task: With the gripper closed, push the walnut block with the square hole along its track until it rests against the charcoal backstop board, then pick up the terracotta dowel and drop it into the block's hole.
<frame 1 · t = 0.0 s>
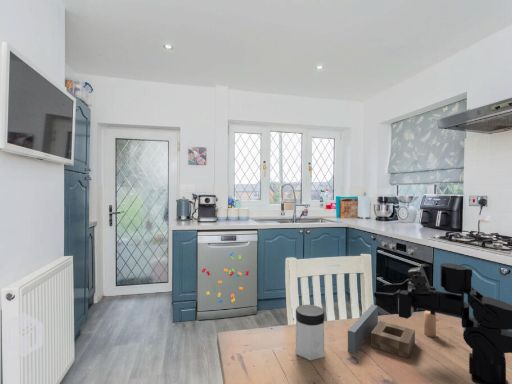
hand: (378, 289, 84), 17 cm above the table, tool horizontal, fingers open, 9 cm apart
backstop: (364, 335, 89), on the table
dowel: (430, 334, 90), on the table
jar: (309, 352, 80), on the table
block: (393, 337, 84), point 2 cm above the table, slide at 0.0 cm
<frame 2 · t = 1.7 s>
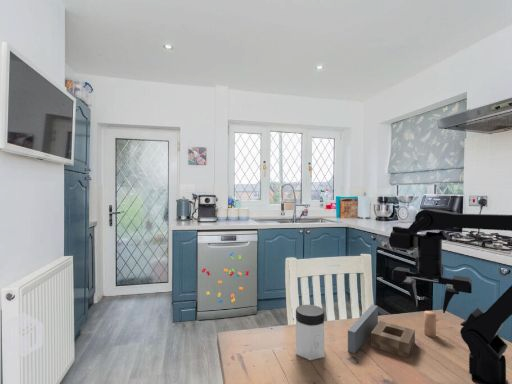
hand: (429, 309, 78), 13 cm above the table, tool pointing down, fingers open, 6 cm apart
nothing on the table moved.
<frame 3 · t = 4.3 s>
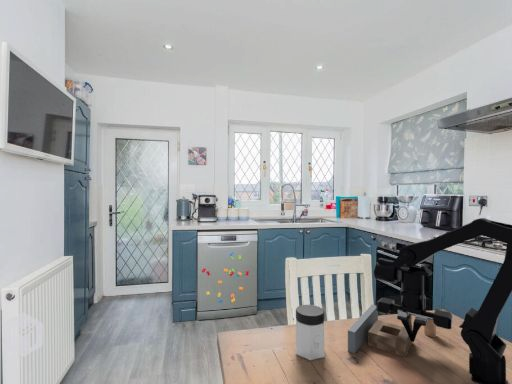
hand: (412, 341, 81), 3 cm above the table, tool pointing down, fingers closed
block: (390, 337, 84), point 2 cm above the table, slide at 0.9 cm, touching gripper
everything else where it was.
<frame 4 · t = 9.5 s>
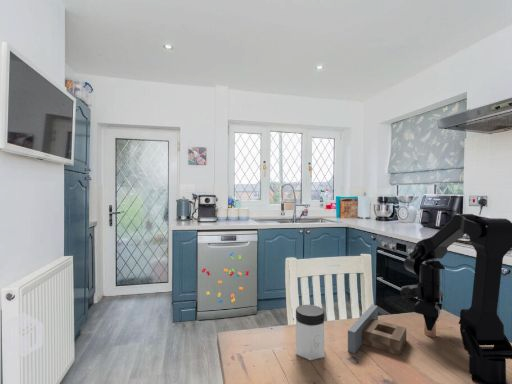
hand: (430, 328, 90), 2 cm above the table, tool pointing down, fingers closed on dowel, 3 cm apart
dowel: (430, 334, 90), on the table, touching gripper
block: (384, 335, 85), point 2 cm above the table, slide at 2.3 cm
everything else where it was.
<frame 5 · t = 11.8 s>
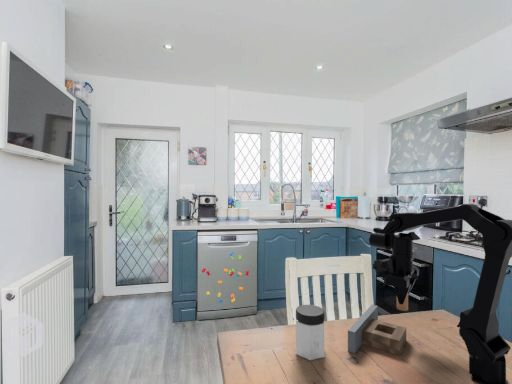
hand: (402, 302, 87), 11 cm above the table, tool pointing down, fingers closed on dowel, 3 cm apart
dowel: (402, 308, 87), point 9 cm above the table, touching gripper
everything else where it was.
when the fingers open (5 cm above the table, at t = 14.3 s): dowel drops 3 cm, resting in block.
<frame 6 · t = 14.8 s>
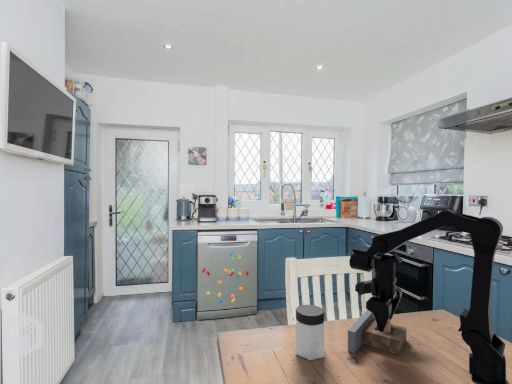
hand: (385, 325, 85), 5 cm above the table, tool pointing down, fingers open, 9 cm apart
dowel: (384, 342, 85), resting in block
everything else where it was.
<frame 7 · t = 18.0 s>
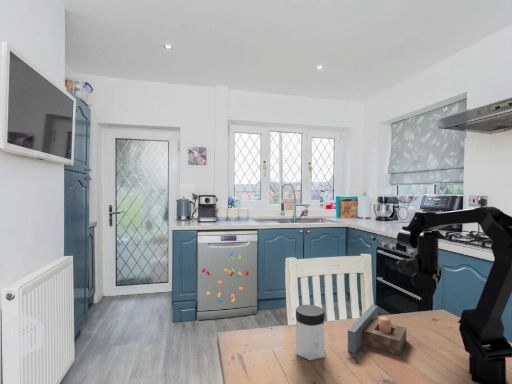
hand: (427, 302, 86), 12 cm above the table, tool pointing down, fingers open, 9 cm apart
nothing on the table moved.
at the end: block slide at 2.3 cm; dowel 0.0 cm off-centre on the block, point 0.0 cm above the block's base; dowel tilted 1° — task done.
